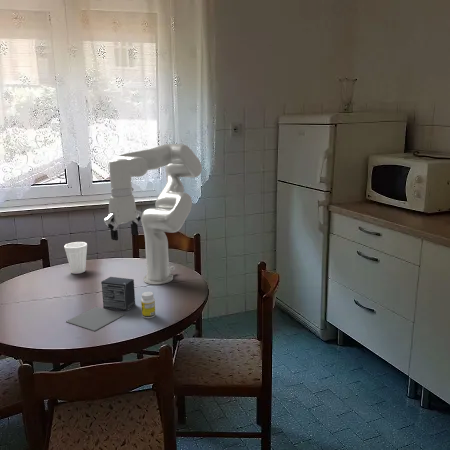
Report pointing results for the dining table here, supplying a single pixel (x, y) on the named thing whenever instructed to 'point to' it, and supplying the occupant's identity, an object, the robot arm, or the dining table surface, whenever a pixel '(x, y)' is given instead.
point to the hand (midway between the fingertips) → (125, 237)
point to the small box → (118, 293)
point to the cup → (76, 256)
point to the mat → (95, 318)
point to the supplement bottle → (148, 305)
